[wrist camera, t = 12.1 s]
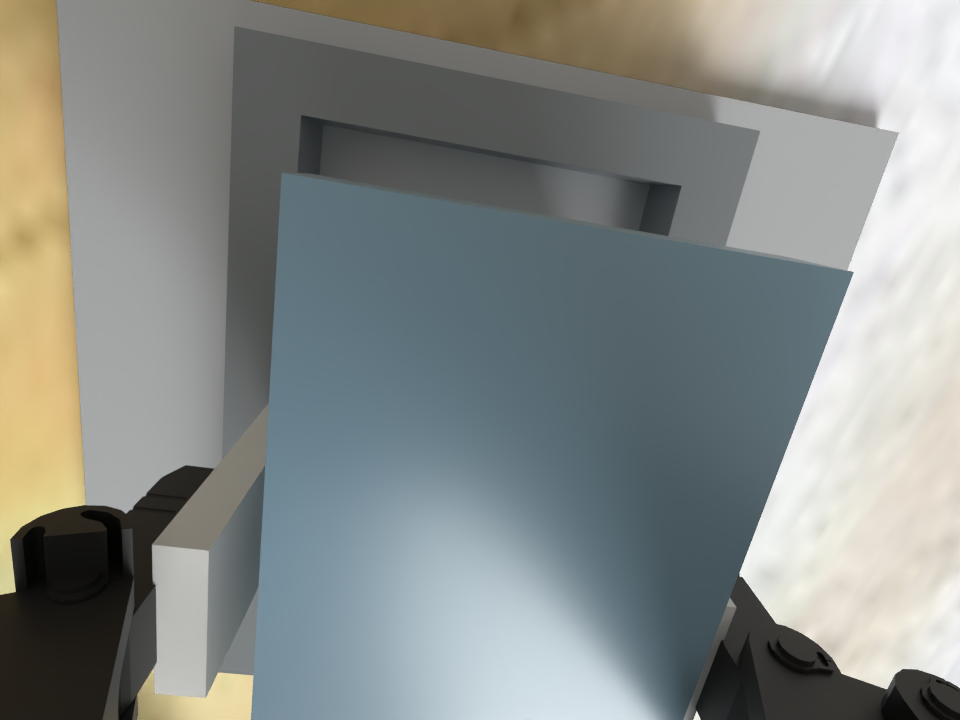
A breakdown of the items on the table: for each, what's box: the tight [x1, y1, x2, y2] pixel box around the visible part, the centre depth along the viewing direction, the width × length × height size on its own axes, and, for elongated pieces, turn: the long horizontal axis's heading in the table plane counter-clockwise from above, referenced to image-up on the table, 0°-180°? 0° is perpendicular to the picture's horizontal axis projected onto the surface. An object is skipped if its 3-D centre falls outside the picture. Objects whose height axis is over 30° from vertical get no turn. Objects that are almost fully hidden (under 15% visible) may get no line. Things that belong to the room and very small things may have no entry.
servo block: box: [251, 173, 854, 720], centre depth 12 cm, size 6×13×10 cm, turn 170°
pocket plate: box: [56, 0, 899, 675], centre depth 16 cm, size 22×20×3 cm
